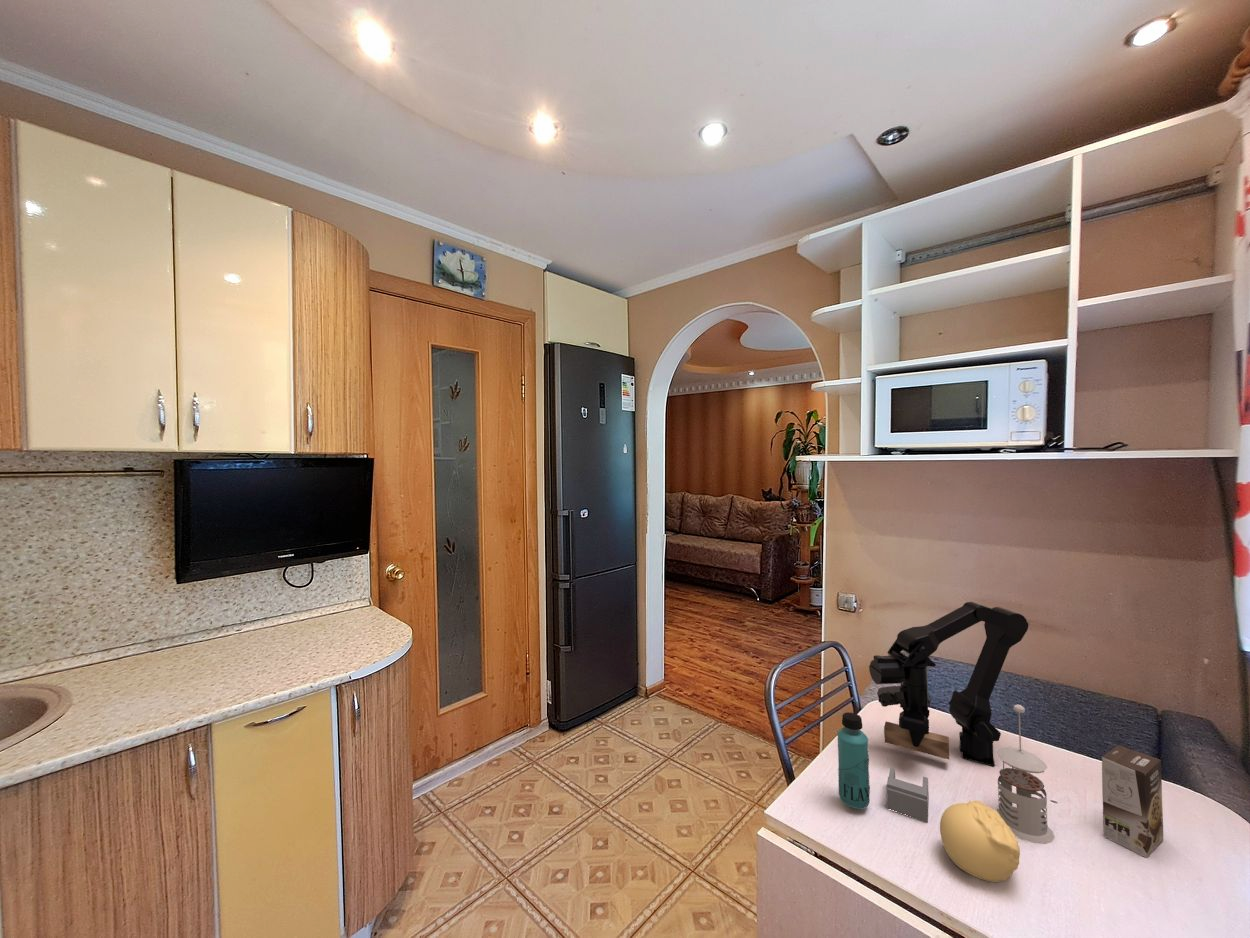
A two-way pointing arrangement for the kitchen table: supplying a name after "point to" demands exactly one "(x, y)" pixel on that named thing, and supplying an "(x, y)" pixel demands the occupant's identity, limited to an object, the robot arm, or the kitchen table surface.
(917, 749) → the slat
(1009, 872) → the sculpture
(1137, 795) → the coffee box
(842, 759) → the beverage bottle
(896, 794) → the endcap
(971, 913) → the kitchen table surface
